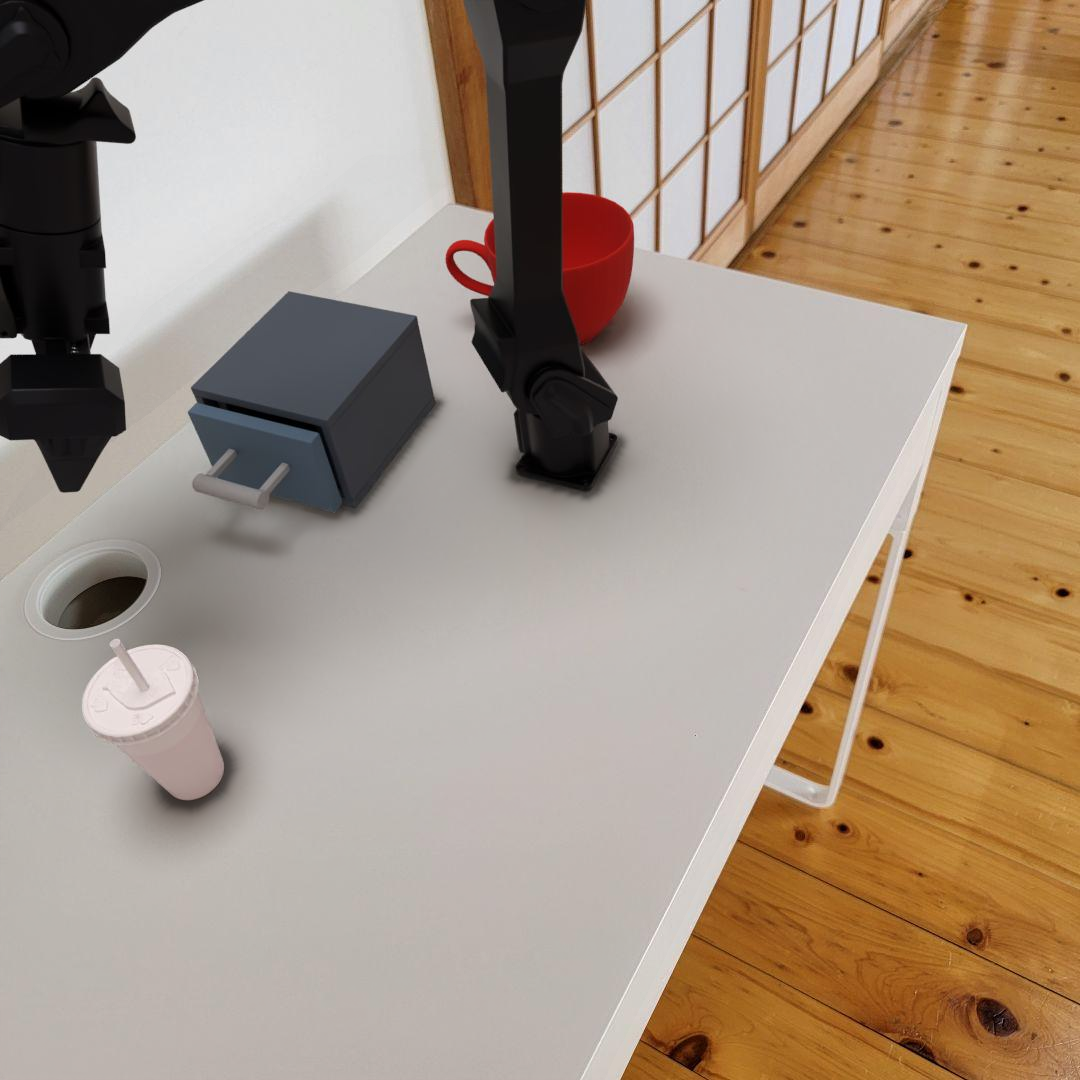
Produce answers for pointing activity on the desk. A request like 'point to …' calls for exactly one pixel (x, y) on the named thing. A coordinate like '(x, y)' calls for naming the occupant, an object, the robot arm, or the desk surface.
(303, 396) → the dispenser
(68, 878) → the desk surface
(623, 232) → the ceramic cup
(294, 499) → the drawer
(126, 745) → the smoothie
